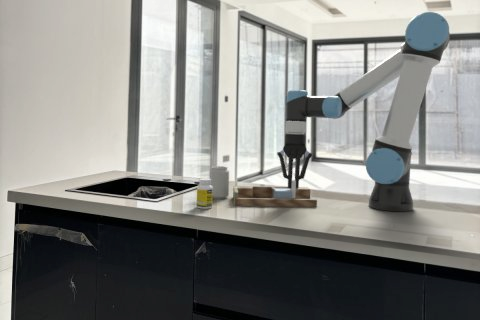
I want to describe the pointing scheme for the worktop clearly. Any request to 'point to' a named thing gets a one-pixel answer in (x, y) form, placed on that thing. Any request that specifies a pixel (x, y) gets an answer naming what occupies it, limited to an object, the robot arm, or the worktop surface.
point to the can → (220, 182)
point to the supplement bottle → (204, 194)
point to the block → (282, 193)
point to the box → (270, 197)
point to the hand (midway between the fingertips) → (292, 197)
